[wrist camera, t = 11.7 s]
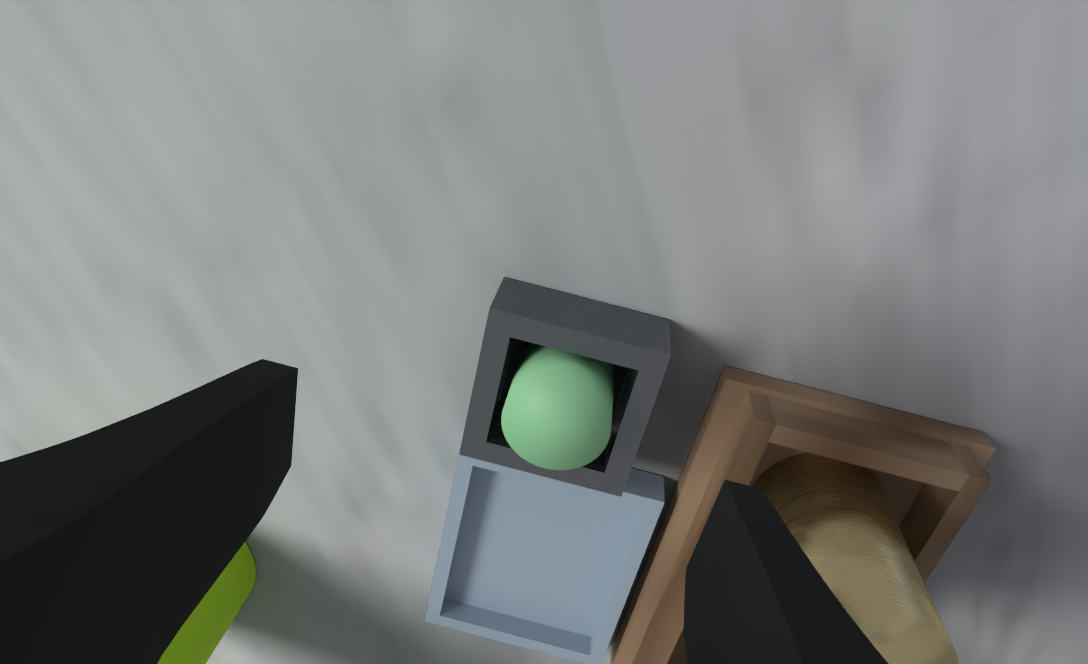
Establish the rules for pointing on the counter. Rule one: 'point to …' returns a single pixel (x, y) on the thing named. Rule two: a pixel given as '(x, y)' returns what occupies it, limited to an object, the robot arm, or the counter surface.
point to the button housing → (578, 332)
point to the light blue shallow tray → (540, 558)
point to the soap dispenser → (213, 613)
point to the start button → (559, 408)
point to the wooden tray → (777, 433)
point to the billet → (859, 554)
